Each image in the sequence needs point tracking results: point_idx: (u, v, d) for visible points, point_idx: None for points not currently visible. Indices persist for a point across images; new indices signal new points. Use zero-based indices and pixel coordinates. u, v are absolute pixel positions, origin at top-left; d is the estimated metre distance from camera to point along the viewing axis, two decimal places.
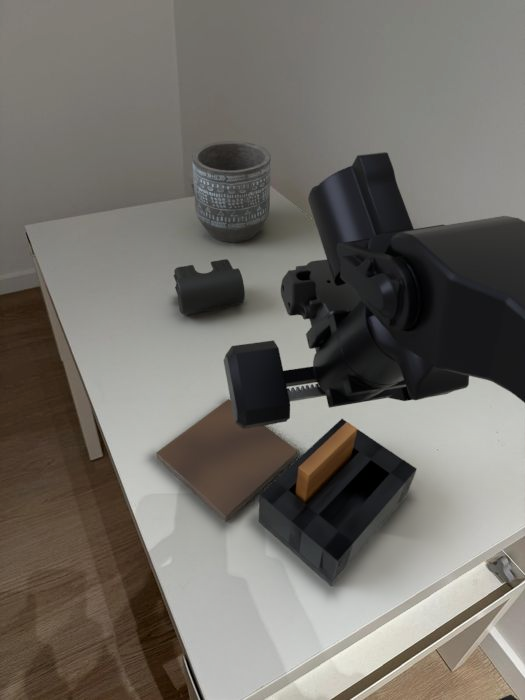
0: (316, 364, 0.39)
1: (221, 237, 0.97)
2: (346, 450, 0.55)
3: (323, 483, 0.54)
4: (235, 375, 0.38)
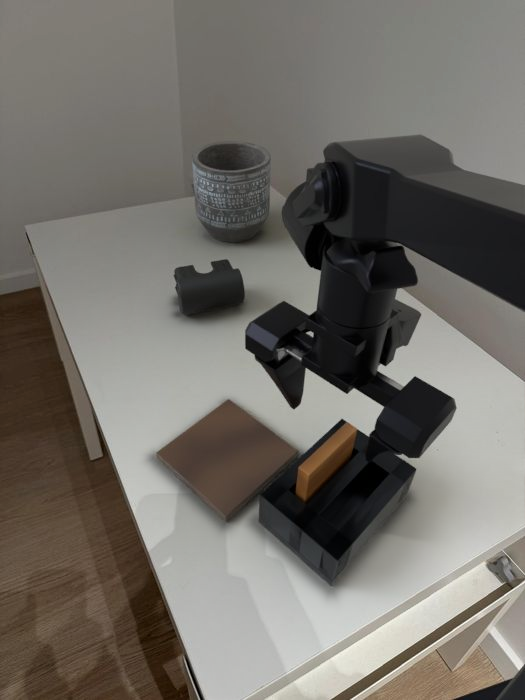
0: None
1: (221, 237, 0.97)
2: (346, 450, 0.55)
3: (323, 483, 0.54)
4: (270, 309, 0.48)
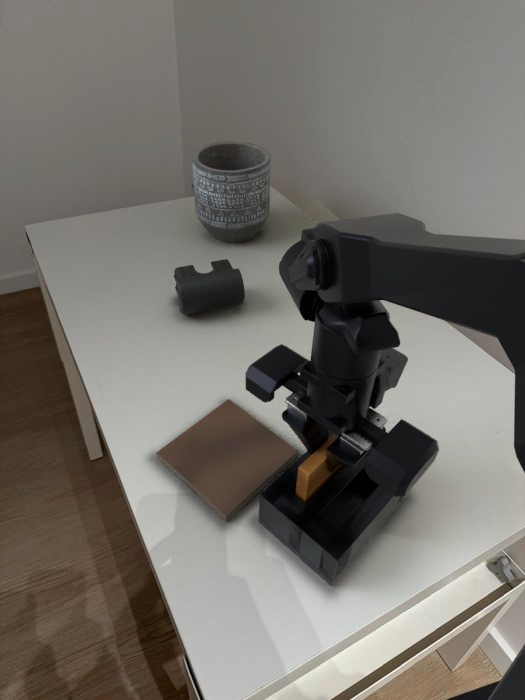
0: None
1: (221, 237, 0.97)
2: None
3: (323, 483, 0.54)
4: (269, 352, 0.52)
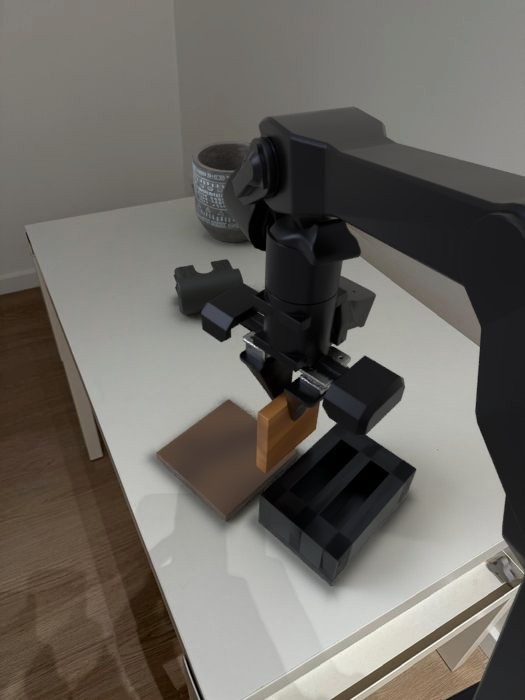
0: None
1: (221, 237, 0.97)
2: None
3: (287, 434, 0.51)
4: (228, 290, 0.48)
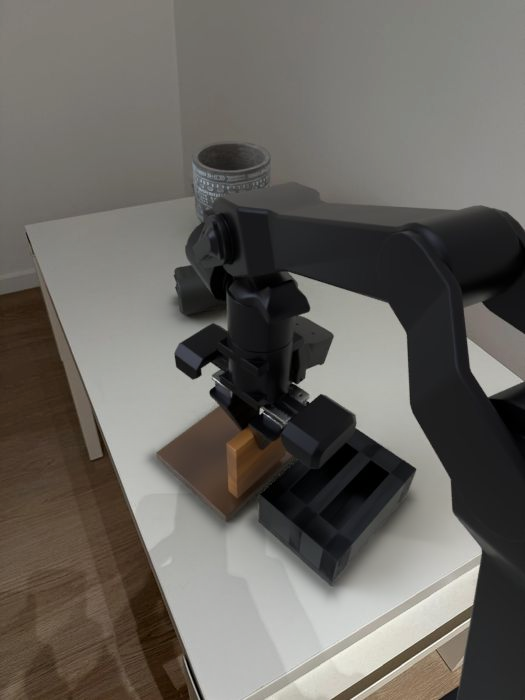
0: None
1: None
2: None
3: (256, 461, 0.55)
4: (200, 330, 0.53)
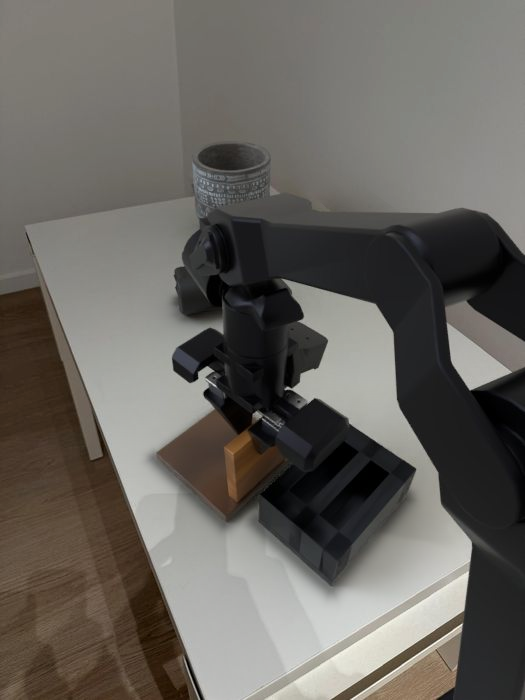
0: None
1: None
2: None
3: (255, 465, 0.56)
4: (197, 335, 0.54)
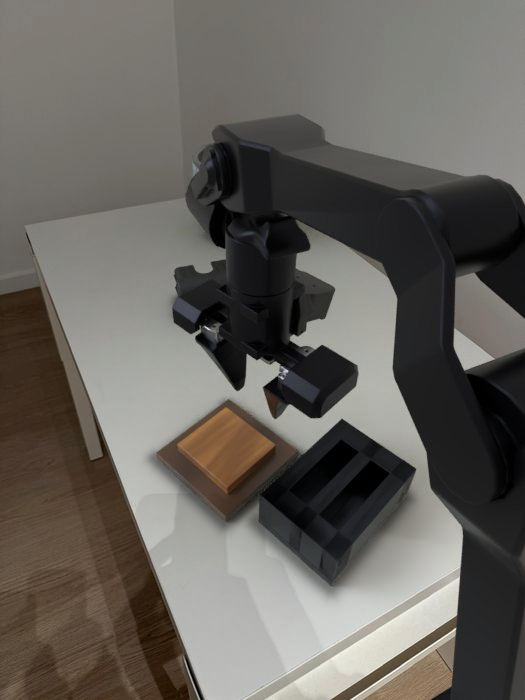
0: None
1: None
2: (231, 423, 0.63)
3: (223, 451, 0.60)
4: None
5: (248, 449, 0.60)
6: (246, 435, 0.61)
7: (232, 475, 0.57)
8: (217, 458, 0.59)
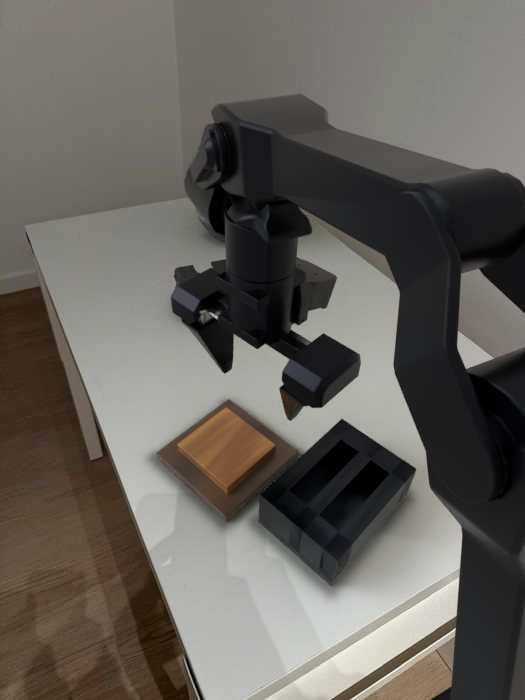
0: None
1: (221, 237, 0.97)
2: (231, 423, 0.63)
3: (223, 451, 0.60)
4: None
5: (248, 449, 0.60)
6: (246, 435, 0.61)
7: (232, 475, 0.57)
8: (217, 458, 0.59)
